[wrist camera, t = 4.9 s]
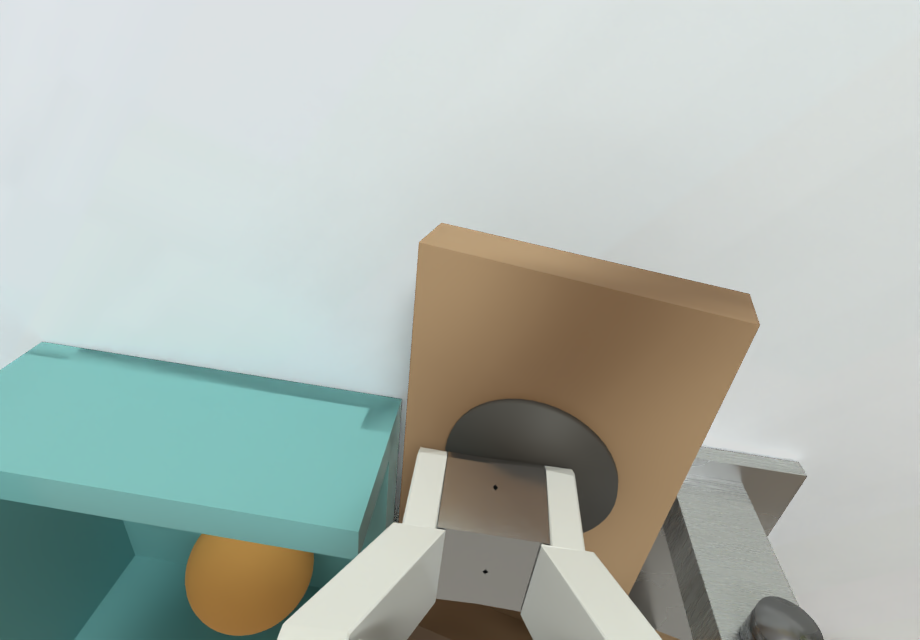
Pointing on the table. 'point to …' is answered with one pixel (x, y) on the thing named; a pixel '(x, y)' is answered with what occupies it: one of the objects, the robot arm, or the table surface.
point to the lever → (566, 387)
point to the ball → (244, 583)
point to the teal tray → (172, 486)
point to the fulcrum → (724, 554)
